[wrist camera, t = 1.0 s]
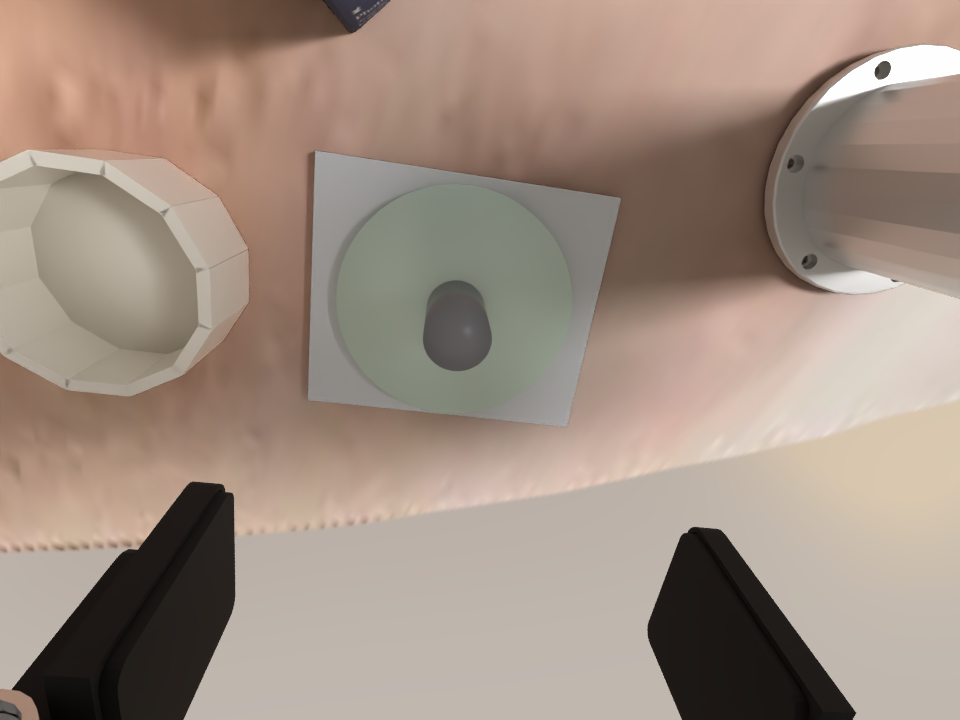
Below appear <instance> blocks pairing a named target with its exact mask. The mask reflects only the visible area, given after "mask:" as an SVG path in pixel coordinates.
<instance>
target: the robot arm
mask: <svg viewBox="0 0 960 720" xmlns="http://www.w3.org/2000/svg"><path fill="white" fill-rule="evenodd" d="M788 161H789V165H788ZM787 165H788V167H787ZM764 214H765V220H766V225H767V231H768V235H769V237H770V240H771V242H772V245H773V247H774V250H775V252H776V253H777V255H778V256H779V258H780V259H781V260H782V262H783V263H784V265H785V266H786V267H787V268H788V269H789V270H791V271H792V272H793V273H794V274H795V275H796V276H797V277H799V278H800V279H802V280H804V281H806V282H808V283H810V284H812V285H814V286H816V287H819V288H822V289H825V290H828V291H831V292H835V293H842V294H849V295H859V294H873V293H877V292H881V291H885V290H889V289H893V288H895V287H898V286H900V285H903V284H905V283H907V284H910V285H914V286H917V287H921V288H924V289H927V290H931V291H934V292H938V293H941V294H945V295H948V296H951V297H955V298H958V299H960V50H957V49H955V48H952V47H949V46H946V45H934V44H916V45H910V46H903V47H897V48H893V49H890V50H886V51H882V52H878V53H875V54H872V55H870V56H868V57H866V58H863V59H861V60H859V61H857V62H855V63H853V64H851V65H849V66H848V67H846V68H845V69H843V70H842V71H840V72H839V73H837V74H836V75H835V76H833V77H832V78H830V79H829V80H827V81H826V82H825V83H824V84H823V85H822V86H821V87H820V88H819V89H818V90H817V91H816V92H815V93H814V94H813V95H812V96H811V97H810V98H809V99H808V100H807V101H806V102H805V104H804V105H803V106H802V107H801V109H800V110H799V111H798V113H797V114H796V115H795V116H794V118H793V119H792V120H791V122H790V124H789V126H788V127H787V129H786V131H785V133H784V135H783V136H782V138H781V140H780V142H779V144H778V146H777V149H776V151H775V154H774V157H773V159H772V162H771V165H770V168H769V173H768V178H767V183H766V188H765V207H764ZM234 549H235V544H234V496H233V494H232V493H228V492H225V488H224V485H222V484H214V483H203V482H190V483H189V484H188V485H187V486H186V488H185V489H184V490H183V491H182V493H181V494H180V495H179V497H178V498H177V499H176V501H175V502H174V503H173V505H172V506H171V507H170V508H169V510H168V511H167V512H166V514H165V515H164V516H163V518H162V519H161V520H160V522H159V523H158V524H157V525H156V527H155V528H154V529H153V531H152V532H151V533H150V535H149V536H148V537H147V539H146V540H145V541H144V543H143V544H142V545H141V546H140V548H139V549H138V550H133V549H128V550H126V551H124V552H123V553H121V554H120V555H119V556H118V558H117V559H116V560H115V561H114V562H113V563H112V565H111V566H110V567H109V568H108V570H107V571H106V572H105V573H104V575H103V576H102V577H101V578H100V580H99V581H98V582H97V584H96V585H95V586H94V587H93V589H92V590H91V591H90V592H89V593H88V595H87V596H86V597H85V598H84V600H83V601H82V602H81V604H80V605H79V606H78V607H77V608H76V610H75V611H74V612H73V614H72V615H71V616H70V617H69V619H68V620H67V621H66V622H65V623H64V625H63V626H62V627H61V629H60V630H59V631H58V632H57V633H56V635H55V636H54V637H53V638H52V640H51V641H50V642H49V643H48V645H47V646H46V647H45V648H44V650H43V651H42V652H41V653H40V655H39V656H38V657H37V659H36V660H35V661H34V662H33V663H32V665H31V666H30V667H29V668H28V670H27V671H26V672H25V673H24V675H23V676H22V677H21V678H20V680H19V681H18V682H17V684H16V685H15V686H14V687H13V688H12V690H6V689H0V720H183V719H184V717H185V715H186V713H187V711H188V708H189V706H190V704H191V702H192V700H193V697H194V695H195V693H196V690H197V689H198V686H199V684H200V682H201V680H202V678H203V675H204V673H205V671H206V669H207V667H208V664H209V662H210V660H211V658H212V656H213V653H214V651H215V649H216V647H217V645H218V643H219V640H220V638H221V636H222V634H223V632H224V629H225V627H226V625H227V623H228V621H229V618H230V616H231V614H232V610H233V606H234V601H235V554H234V553H235V550H234ZM648 639H649V642H650V644H651V647H652V649H653V652H654V654H655V656H656V659H657V661H658V664H659V666H660V668H661V671H662V673H663V676H664V678H665V680H666V683H667V685H668V687H669V689H670V692H671V695H672V697H673V699H674V702H675V704H676V706H677V709H678V711H679V714H680V716H681V718H682V720H853V718H854V716H855V714H856V712H855V711H854V709H853V708H852V707H851V705H850V704H849V703H848V701H847V700H846V698H845V697H844V696H843V694H842V693H841V692H840V690H839V689H838V687H837V686H836V685H835V683H834V682H833V681H832V679H831V678H830V677H829V675H828V674H827V673H826V671H825V670H824V668H823V667H822V666H821V664H820V663H819V662H818V660H817V659H816V658H815V656H814V655H813V654H812V652H811V651H810V649H809V648H808V647H807V645H806V644H805V643H804V641H803V640H802V639H801V637H800V636H799V634H798V633H797V632H796V630H795V629H794V628H793V626H792V625H791V624H790V622H789V621H788V620H787V618H786V617H785V615H784V614H783V613H782V611H781V610H780V609H779V607H778V606H777V605H776V603H775V602H774V600H773V599H772V598H771V596H770V595H769V594H768V592H767V591H766V590H765V588H764V587H763V585H762V584H761V583H760V581H759V580H758V579H757V577H756V576H755V575H754V573H753V572H752V570H751V569H750V568H749V566H748V565H747V564H746V562H745V561H744V560H743V558H742V557H741V556H740V554H739V553H738V551H737V550H736V549H735V547H734V546H733V545H732V543H731V542H730V541H729V539H728V538H727V536H726V535H725V534H724V533H723V532H722V531H721V530H719V529H711V528H699V527H692V528H691V529H690V530H689V531H688V533H684V534H683V535H682V536H681V537H680V540H679V542H678V545H677V548H676V550H675V553H674V556H673V558H672V561H671V564H670V567H669V569H668V572H667V575H666V577H665V580H664V582H663V585H662V588H661V591H660V594H659V596H658V598H657V601H656V604H655V607H654V609H653V612H652V615H651V617H650V620H649V623H648Z"/></svg>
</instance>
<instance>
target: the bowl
mask: <svg viewBox="0 0 960 720" xmlns="http://www.w3.org/2000/svg"><path fill="white" fill-rule="evenodd" d="M248 303H249V249H248V247H247V245H246V244H245V242H244V240H243V238H242V237H241V235H240V233H239V231H238V230H237V228H236V226H235V224H234V223H233V221H232V219H231V217H230V216H229V214H228V212H227V210H226V209H225V207H224V205H223V203H222V202H221V200H220V198H219V197H218V196H217V195H216V194H215V193H213V192H212V191H210V190H209V189H207V188H206V187H205V186H203V185H202V184H200V183H199V182H197V181H196V180H195V179H193V178H192V177H190V176H189V175H187V174H186V173H185V172H183V171H182V170H180V169H179V168H178V167H176V166H175V165H173V164H172V163H170V162H169V161H168V160H166V159H164V158H157V157H151V156H144V155H137V154H131V153H124V152H117V151H110V150H104V149H29V150H26V151H23V152H21V153H19V154H17V155H15V156H13V157H10V158H8V159H6V160H4V161H2V162H0V352H1V354H2V355H3V356H4V355H5V356H4V357H6V358H8V359H10V360H11V361H13V362H15V363H17V364H19V365H21V366H22V367H24V368H26V369H28V370H30V371H32V372H34V373H35V374H37V375H39V376H41V377H43V378H45V379H46V380H48V381H50V382H52V383H54V384H56V385H58V386H59V387H61V388H63V389H65V390H66V389H67V390H69V391H79V392H89V393H99V394H109V395H118V396H128V397H130V396H133V395H136V394H138V393H141V392H143V391H146V390H148V389H151V388H153V387H155V386H158V385H160V384H163V383H165V382H168V381H170V380H173V379H175V378H178V377H180V376H182V375H184V374H185V373H186V372H187V371H188V370H189V369H191V368H192V367H193V366H194V365H195V364H196V363H198V362H199V361H200V360H201V359H202V358H204V357H205V356H206V355H207V354H208V353H209V352H211V351H212V350H213V349H214V348H215V347H216V346H218V345H219V344H220V343H221V342H222V341H223V340H224V339H225V338H226V336H227V335H228V333H229V331H230V330H231V328H232V327H233V325H234V324H235V322H236V321H237V319H238V318H239V316H240V315H241V313H242V312H243V310H244V309H245V307H246V306H247V304H248Z"/></svg>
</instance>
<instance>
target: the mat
mask: <svg viewBox="0 0 960 720" xmlns="http://www.w3.org/2000/svg"><path fill="white" fill-rule="evenodd" d="M445 184H462V185H473V186H477V187H482V188H486V189H490V190H492V191H495V192H498V193H500V194H503V195H505V196H507V197H508V198H510V199H512V200H514V201H516V202H518V203H519V204H520V205H522V206H523V207H524V208H526V209H527V210H528V211H530V212H531V213H532V214H533V215H534V216H535V217H536V218H538V219H539V220H540V221H541V222H542V223H543V224H544V226H545V227H546V228H547V229H548V231H549V232H550V233H551V235H552V236H553V237H554V239H555V241H556V242H557V244H558V246H559V248H560V249H561V251H562V254H563V256H564V259H565V261H566V264H567V267H568V271H569V275H570V279H571V287H572V312H571V319H570V324H569V328H568V331H567V335H566V338H565V340H564V342H563V345H562V347H561V349H560V351H559V353H558V354H557V356H556V358H555V359H554V361H553V363H552V364H551V365H550V367H549V368H548V369H547V370H546V372H545V373H544V374H543V375H542V376H541V377H540V378H539V379H538V380H537V381H536V382H535V383H534V384H533V385H532V386H530V387H529V388H528V389H526V390H525V391H524V392H522V393H521V394H519V395H517V396H516V397H514V398H512V399H511V400H509V401H506V402H504V403H502V404H500V405H497V406H494V407H491V408H488V409H485V410H480V411H475V412H468V413H441V412H434V411H428V410H425V409H421V408H418V407H414V406H412V405H409V404H407V403H405V402H402V401H400V400H398V399H396V398H395V397H393V396H391V395H389V394H388V393H386V392H385V391H384V390H382V389H381V388H380V387H378V386H377V385H376V384H375V383H374V382H373V381H372V380H371V379H370V378H369V377H368V376H366V374H365V373H364V372H363V371H362V369H361V368H360V367H359V366H358V365H357V363H356V362H355V360H354V358H353V357H352V355H351V354H350V352H349V350H348V348H347V345H346V343H345V341H344V339H343V336H342V333H341V329H340V326H339V322H338V315H337V309H336V291H337V282H338V276H339V272H340V269H341V265H342V262H343V260H344V257H345V255H346V252H347V250H348V248H349V246H350V245H351V243H352V241H353V240H354V238H355V236H356V235H357V234H358V232H359V231H360V230H361V229H362V227H363V226H364V225H365V224H366V222H368V221H369V220H370V219H371V218H372V217H373V216H374V215H375V214H376V213H377V212H378V211H379V210H381V209H382V208H383V207H385V206H386V205H388V204H389V203H391V202H392V201H394V200H395V199H397V198H399V197H401V196H403V195H405V194H407V193H410V192H413V191H416V190H419V189H422V188H426V187H431V186H436V185H445ZM620 202H621V198H619V197H613V196H607V195H600V194H594V193H587V192H581V191H574V190H568V189H562V188H555V187H549V186H542V185H536V184H529V183H523V182H517V181H510V180H504V179H497V178H491V177H484V176H478V175H471V174H465V173H459V172H452V171H446V170H439V169H433V168H426V167H420V166H414V165H407V164H401V163H394V162H388V161H381V160H375V159H369V158H362V157H356V156H349V155H343V154H336V153H330V152H324V151H315V173H314V207H313V240H312V274H311V308H310V342H309V375H308V400H311V401H321V402H330V403H340V404H350V405H359V406H369V407H379V408H388V409H398V410H407V411H417V412H427V413H436V414H446V415H456V416H465V417H475V418H484V419H494V420H504V421H513V422H523V423H533V424H542V425H552V426H562V427H567V424H568V420H569V416H570V412H571V408H572V403H573V399H574V395H575V391H576V387H577V382H578V378H579V374H580V370H581V366H582V361H583V357H584V353H585V349H586V345H587V341H588V336H589V332H590V328H591V324H592V320H593V315H594V311H595V307H596V303H597V299H598V294H599V290H600V286H601V282H602V278H603V273H604V269H605V265H606V261H607V257H608V252H609V248H610V244H611V240H612V236H613V231H614V227H615V223H616V219H617V215H618V210H619V206H620Z"/></svg>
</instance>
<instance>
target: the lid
mask: <svg viewBox="0 0 960 720" xmlns="http://www.w3.org/2000/svg"><path fill="white" fill-rule="evenodd" d="M336 309H337V315H338V322H339V326H340V329H341V333H342V336H343V339H344V341H345V343H346V345H347V348H348V350H349V352H350V354H351V355H352V357H353V358H354V360H355V362H356V363H357V365H358V366H359V367H360V368H361V369H362V371H363V372H364V373H365V374H366V376H368V377H369V378H370V379H371V380H372V381H373V382H374V383H375V384H376V385H377V386H378V387H380V388H381V389H382V390H384V391H385V392H386V393H388V394H389V395H391V396H393V397H395V398H396V399H398V400H400V401H402V402H405V403H407V404H409V405H412V406H414V407H418V408H421V409H425V410H428V411H434V412H441V413H468V412H475V411H480V410H485V409H488V408H491V407H494V406H497V405H500V404H502V403H504V402H506V401H509V400H511V399H512V398H514V397H516V396H517V395H519V394H521V393H522V392H524V391H525V390H526V389H528V388H529V387H530V386H532V385H533V384H534V383H535V382H536V381H537V380H538V379H539V378H540V377H541V376H542V375H543V374H544V373H545V372H546V370H547V369H548V368H549V367H550V365H551V364H552V363H553V361H554V359H555V358H556V356H557V354H558V353H559V351H560V349H561V347H562V345H563V342H564V340H565V338H566V335H567V331H568V328H569V324H570V319H571V312H572V287H571V279H570V275H569V271H568V267H567V264H566V261H565V259H564V256H563V254H562V251H561V249H560V248H559V246H558V244H557V242H556V241H555V239H554V237H553V236H552V235H551V233H550V232H549V231H548V229H547V228H546V227H545V226H544V224H543V223H542V222H541V221H540V220H539V219H538V218H536V217H535V216H534V215H533V214H532V213H531V212H530V211H528V210H527V209H526V208H524V207H523V206H522V205H520V204H519V203H518V202H516V201H514V200H512V199H510V198H508V197H507V196H505V195H503V194H500V193H498V192H495V191H492V190H490V189H486V188H482V187H477V186H473V185H462V184H445V185H436V186H431V187H426V188H422V189H419V190H416V191H413V192H410V193H407V194H405V195H403V196H401V197H399V198H397V199H395V200H394V201H392V202H391V203H389V204H388V205H386V206H385V207H383V208H382V209H381V210H379V211H378V212H377V213H376V214H375V215H374V216H373V217H372V218H371V219H370V220H369V221H368V222H366V224H365V225H364V226H363V227H362V229H361V230H360V231H359V232H358V234H357V235H356V236H355V238H354V240H353V241H352V243H351V245H350V246H349V248H348V250H347V252H346V255H345V257H344V260H343V262H342V265H341V269H340V272H339V276H338V282H337V291H336Z"/></svg>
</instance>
